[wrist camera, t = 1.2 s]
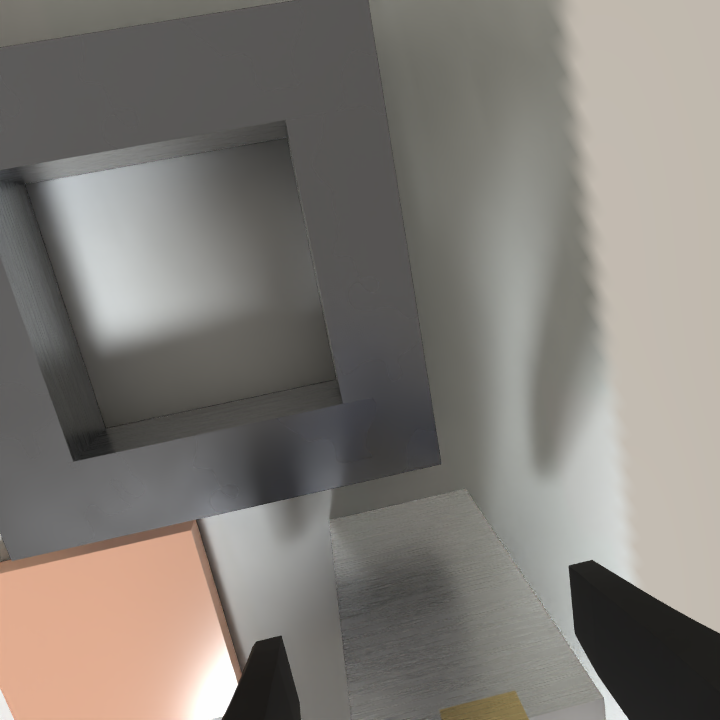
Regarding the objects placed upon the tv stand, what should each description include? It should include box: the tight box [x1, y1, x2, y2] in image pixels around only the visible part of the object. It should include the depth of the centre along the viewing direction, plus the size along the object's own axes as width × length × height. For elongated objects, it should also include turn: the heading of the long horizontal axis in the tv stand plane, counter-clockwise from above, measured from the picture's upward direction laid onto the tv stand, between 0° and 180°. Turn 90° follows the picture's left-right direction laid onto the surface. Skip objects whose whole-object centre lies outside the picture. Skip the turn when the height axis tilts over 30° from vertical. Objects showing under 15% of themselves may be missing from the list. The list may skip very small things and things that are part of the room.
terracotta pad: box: [0, 520, 242, 720], centre depth 14 cm, size 6×6×1 cm
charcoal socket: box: [0, 0, 441, 561], centre depth 12 cm, size 10×10×2 cm
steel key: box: [329, 489, 606, 720], centre depth 12 cm, size 5×4×8 cm
